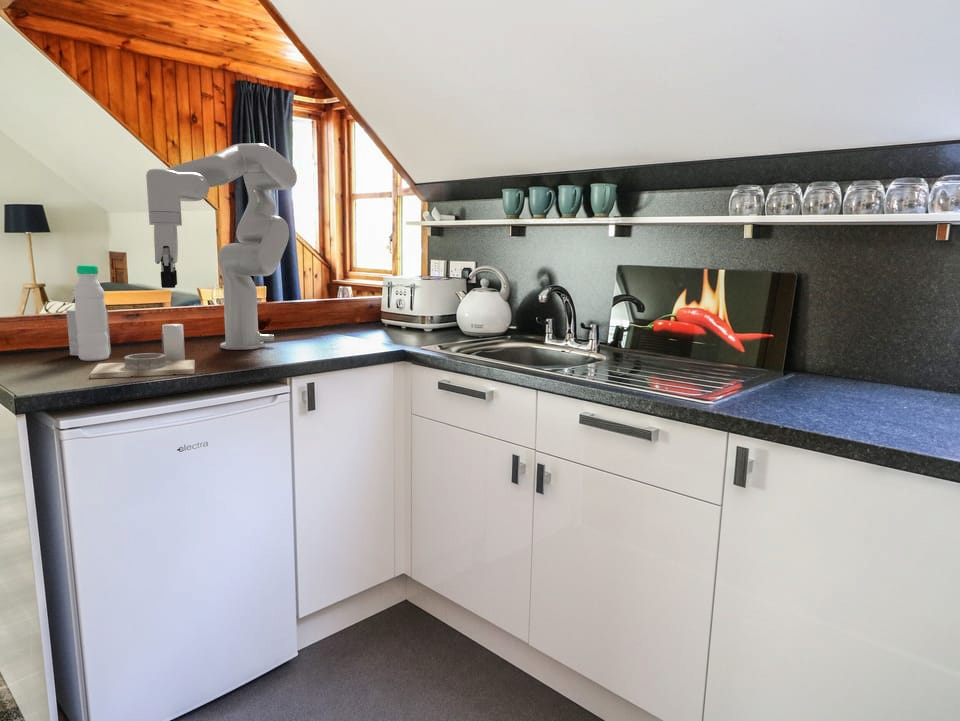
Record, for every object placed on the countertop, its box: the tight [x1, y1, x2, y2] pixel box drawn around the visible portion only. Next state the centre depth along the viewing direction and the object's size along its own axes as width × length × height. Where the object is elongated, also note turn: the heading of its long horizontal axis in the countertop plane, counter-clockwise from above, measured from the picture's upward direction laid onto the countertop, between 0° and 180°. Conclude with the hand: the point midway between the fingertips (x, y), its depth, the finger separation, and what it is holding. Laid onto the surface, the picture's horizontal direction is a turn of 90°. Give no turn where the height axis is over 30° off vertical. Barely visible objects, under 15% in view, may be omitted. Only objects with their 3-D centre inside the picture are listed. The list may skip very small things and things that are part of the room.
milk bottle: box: [73, 264, 110, 362], centre depth 171 cm, size 7×7×25 cm
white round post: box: [161, 323, 186, 361], centre depth 170 cm, size 5×5×10 cm
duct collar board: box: [89, 352, 196, 379], centre depth 159 cm, size 22×13×4 cm, turn 113°
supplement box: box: [65, 308, 112, 357], centre depth 178 cm, size 7×7×13 cm
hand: (169, 286), depth 168 cm, fingers open, 9 cm apart
